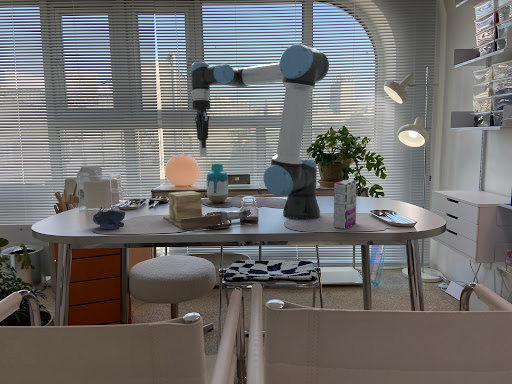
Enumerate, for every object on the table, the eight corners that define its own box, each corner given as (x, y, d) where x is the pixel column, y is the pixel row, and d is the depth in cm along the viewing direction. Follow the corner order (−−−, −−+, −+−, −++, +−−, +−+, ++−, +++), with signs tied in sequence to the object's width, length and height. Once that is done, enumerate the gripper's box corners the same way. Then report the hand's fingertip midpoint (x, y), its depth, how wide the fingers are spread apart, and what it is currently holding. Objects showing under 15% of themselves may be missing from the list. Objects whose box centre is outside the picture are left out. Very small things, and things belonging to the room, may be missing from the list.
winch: (223, 226, 148) (223, 212, 147) (216, 223, 153) (216, 210, 152) (257, 221, 155) (257, 209, 154) (250, 219, 160) (250, 206, 159)
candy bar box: (343, 222, 153) (344, 179, 151) (356, 223, 151) (357, 180, 148) (332, 227, 144) (333, 182, 142) (345, 229, 141) (347, 183, 139)
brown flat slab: (163, 219, 160) (163, 208, 159) (198, 215, 167) (198, 205, 166) (182, 231, 140) (181, 219, 139) (221, 226, 147) (221, 214, 146)
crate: (168, 217, 161) (167, 192, 160) (193, 214, 166) (192, 190, 165) (177, 222, 152) (176, 196, 151) (202, 219, 157) (201, 193, 156)
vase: (232, 201, 201) (231, 163, 199) (221, 204, 192) (221, 165, 189) (214, 200, 206) (213, 162, 203) (203, 203, 196) (202, 164, 193)
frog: (99, 224, 152) (98, 204, 151) (130, 224, 151) (129, 204, 150) (87, 230, 142) (86, 209, 141) (120, 230, 142) (119, 209, 141)
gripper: (188, 101, 175) (190, 155, 178) (197, 98, 164) (199, 156, 166) (205, 102, 179) (206, 155, 181) (214, 99, 167) (216, 155, 170)
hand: (203, 155), depth 174 cm, fingers closed
